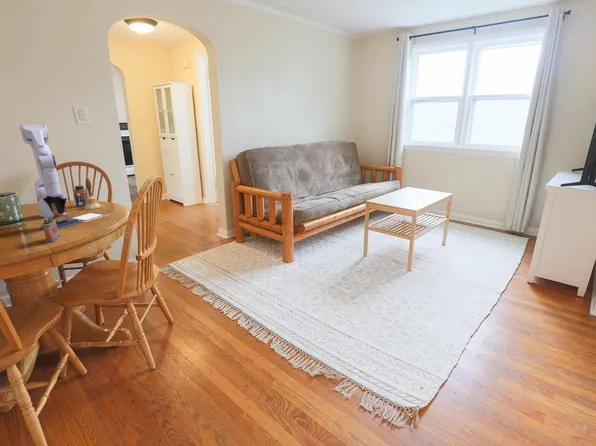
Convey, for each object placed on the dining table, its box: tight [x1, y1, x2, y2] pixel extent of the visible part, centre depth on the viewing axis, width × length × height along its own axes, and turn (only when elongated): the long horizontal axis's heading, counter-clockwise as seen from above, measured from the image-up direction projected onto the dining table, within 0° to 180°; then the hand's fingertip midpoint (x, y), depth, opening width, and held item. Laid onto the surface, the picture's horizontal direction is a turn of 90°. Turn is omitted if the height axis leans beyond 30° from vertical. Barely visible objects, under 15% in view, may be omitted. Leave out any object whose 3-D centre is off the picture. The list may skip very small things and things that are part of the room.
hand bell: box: [83, 178, 102, 210], centre depth 181 cm, size 8×8×16 cm
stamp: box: [51, 203, 70, 223], centre depth 151 cm, size 5×5×8 cm
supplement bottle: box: [73, 184, 89, 208], centre depth 186 cm, size 6×6×11 cm
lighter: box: [41, 214, 61, 244], centre depth 134 cm, size 8×3×10 cm, turn 17°
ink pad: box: [39, 217, 82, 231], centre depth 153 cm, size 10×12×2 cm
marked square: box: [70, 211, 110, 223], centre depth 166 cm, size 13×13×1 cm
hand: (58, 212), depth 152 cm, fingers closed on stamp, 4 cm apart
